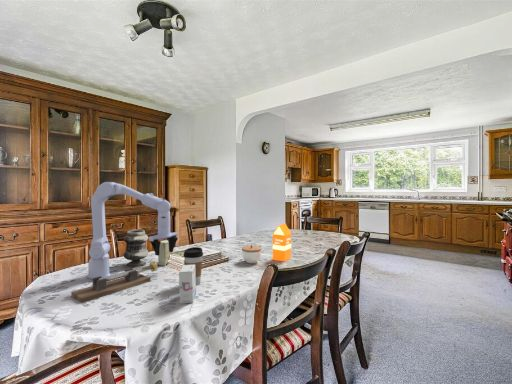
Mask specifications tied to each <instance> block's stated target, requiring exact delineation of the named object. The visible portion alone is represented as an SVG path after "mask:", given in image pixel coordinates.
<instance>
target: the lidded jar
mask: <svg viewBox="0 0 512 384" xmlns="http://www.w3.org/2000/svg"><path fill="white" fill-rule="evenodd" d="M261 255H262V247H260V246H258V245H253V244H250V245H245V246H242V248H241V256H242V258H243V260H244V261H245V262H246V263H247V264H256V263H257V262H258V261H259V259H261Z"/></svg>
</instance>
